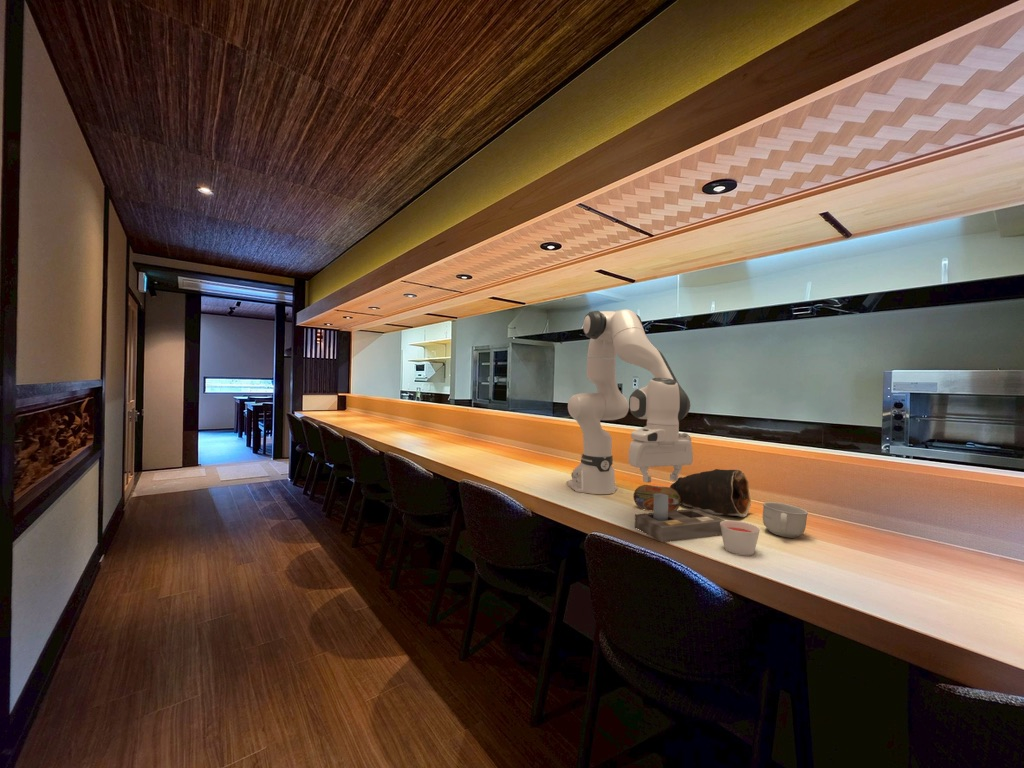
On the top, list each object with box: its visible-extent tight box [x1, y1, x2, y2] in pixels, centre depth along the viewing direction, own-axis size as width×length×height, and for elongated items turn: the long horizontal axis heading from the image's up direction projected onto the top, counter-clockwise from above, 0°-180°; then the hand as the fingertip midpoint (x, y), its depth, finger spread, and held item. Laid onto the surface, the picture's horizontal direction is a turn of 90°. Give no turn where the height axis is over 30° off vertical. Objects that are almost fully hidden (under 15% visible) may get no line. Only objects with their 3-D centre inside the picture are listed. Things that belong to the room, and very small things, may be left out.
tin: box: [633, 484, 681, 512], centre depth 141 cm, size 15×3×8 cm, turn 62°
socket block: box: [634, 508, 726, 543], centre depth 121 cm, size 12×22×4 cm, turn 109°
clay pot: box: [669, 468, 752, 518], centre depth 145 cm, size 15×15×25 cm
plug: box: [652, 493, 668, 521], centre depth 121 cm, size 4×4×10 cm
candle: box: [720, 519, 761, 556], centre depth 108 cm, size 9×9×6 cm
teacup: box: [762, 501, 809, 539], centre depth 120 cm, size 14×11×8 cm
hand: (660, 481), depth 121 cm, fingers open, 8 cm apart
